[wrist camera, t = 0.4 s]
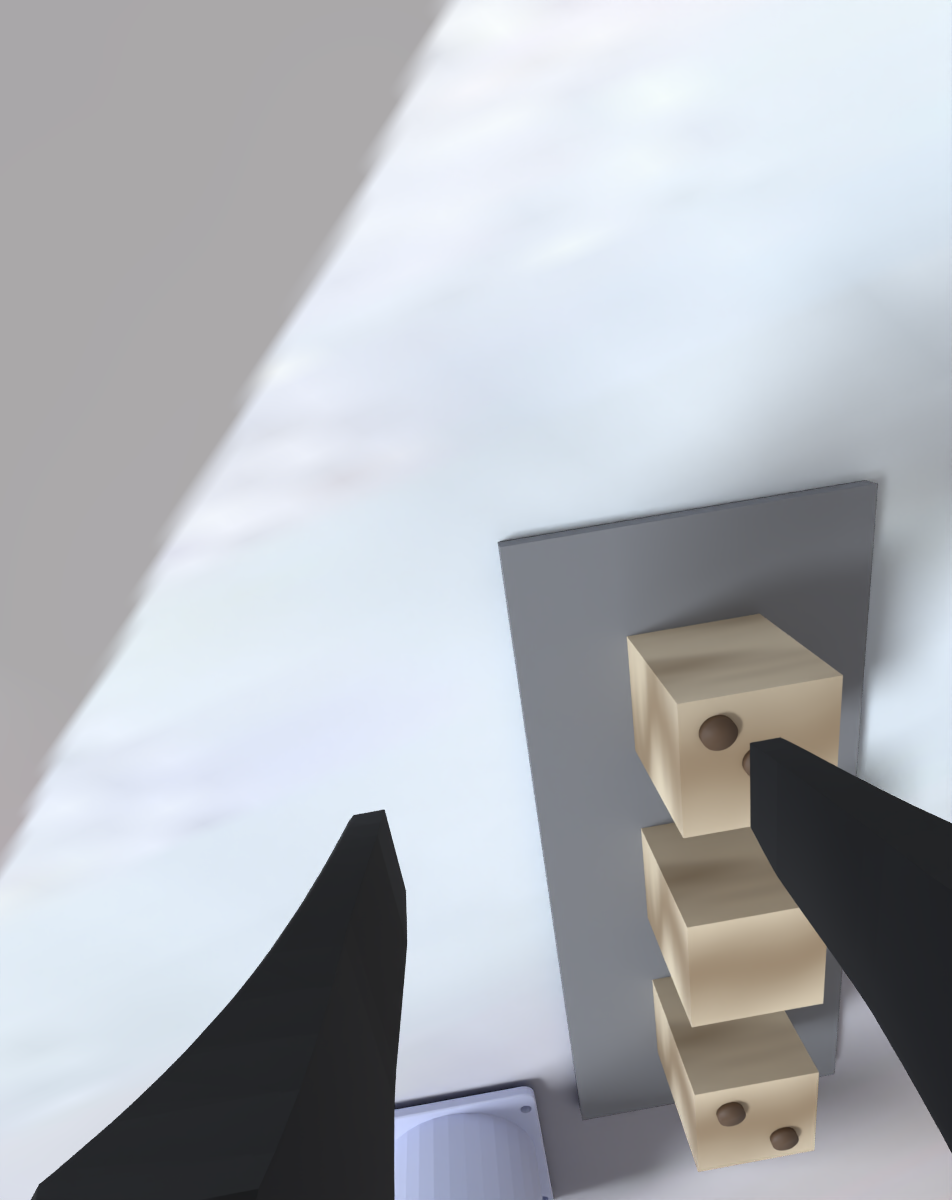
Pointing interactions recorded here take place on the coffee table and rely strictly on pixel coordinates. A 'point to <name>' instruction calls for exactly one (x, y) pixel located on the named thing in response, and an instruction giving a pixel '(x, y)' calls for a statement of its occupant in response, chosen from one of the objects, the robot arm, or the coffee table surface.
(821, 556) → the slate mat
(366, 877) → the robot arm
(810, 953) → the plain block
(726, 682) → the three pip block
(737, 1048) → the two pip block
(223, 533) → the coffee table surface
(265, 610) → the coffee table surface
